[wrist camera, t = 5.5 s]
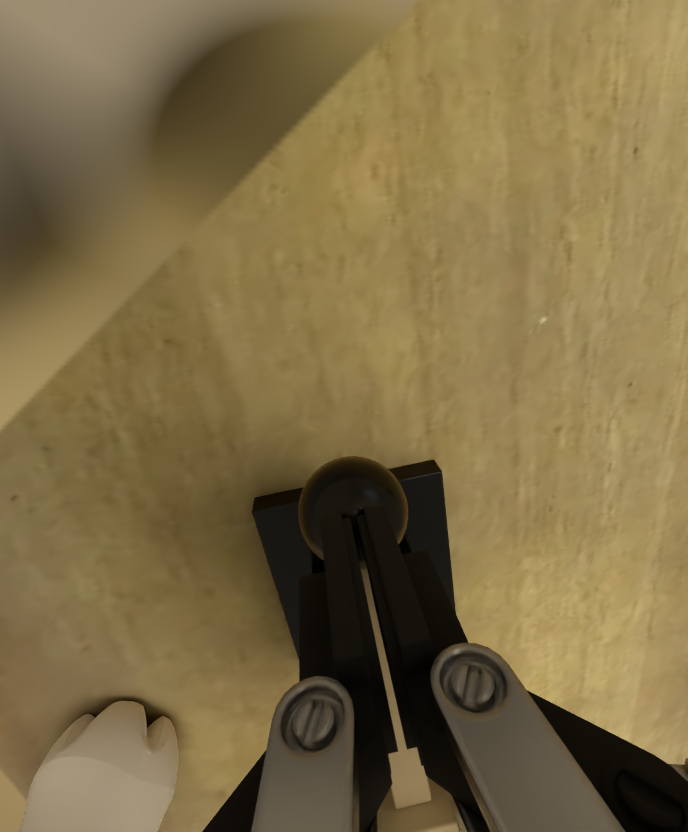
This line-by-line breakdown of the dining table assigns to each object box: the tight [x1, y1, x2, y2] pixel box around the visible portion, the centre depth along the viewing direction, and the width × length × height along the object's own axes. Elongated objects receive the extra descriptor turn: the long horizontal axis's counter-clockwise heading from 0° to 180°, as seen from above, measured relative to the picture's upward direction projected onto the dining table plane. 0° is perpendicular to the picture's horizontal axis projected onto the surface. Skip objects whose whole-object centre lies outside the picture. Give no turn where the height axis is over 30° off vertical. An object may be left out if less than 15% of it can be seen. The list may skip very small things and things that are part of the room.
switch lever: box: [298, 456, 461, 832], centre depth 12 cm, size 13×3×3 cm, turn 10°
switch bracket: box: [252, 460, 456, 658], centre depth 17 cm, size 12×9×13 cm
